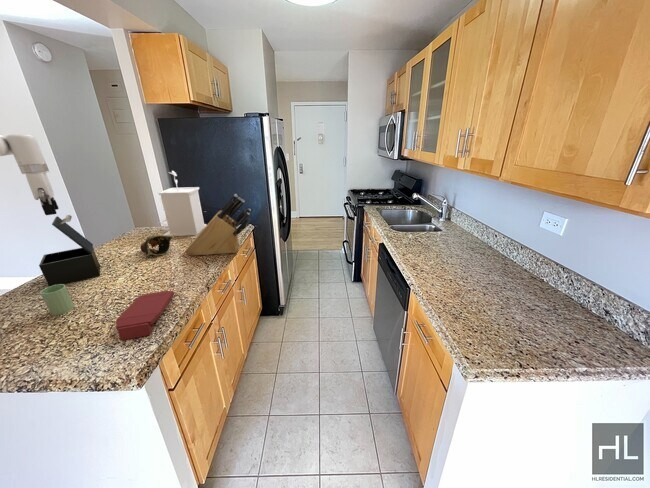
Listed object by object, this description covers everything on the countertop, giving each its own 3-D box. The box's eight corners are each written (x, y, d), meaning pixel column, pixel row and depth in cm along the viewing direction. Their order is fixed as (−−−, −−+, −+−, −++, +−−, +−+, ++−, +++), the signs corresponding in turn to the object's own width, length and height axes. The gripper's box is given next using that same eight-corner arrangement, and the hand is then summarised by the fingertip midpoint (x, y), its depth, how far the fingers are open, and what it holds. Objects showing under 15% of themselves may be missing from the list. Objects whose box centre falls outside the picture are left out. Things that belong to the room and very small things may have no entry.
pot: (153, 230, 150) (167, 225, 140) (166, 245, 155) (182, 241, 145) (126, 249, 138) (140, 245, 128) (142, 264, 144) (156, 262, 134)
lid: (51, 224, 104) (64, 216, 106) (55, 217, 114) (67, 210, 115) (90, 254, 114) (101, 247, 116) (91, 245, 124) (101, 238, 126)
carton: (142, 306, 103) (112, 341, 80) (139, 294, 102) (108, 327, 78) (176, 300, 106) (157, 333, 83) (174, 289, 105) (154, 319, 82)
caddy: (49, 288, 109) (38, 265, 105) (53, 276, 119) (43, 254, 115) (100, 275, 119) (92, 254, 115) (99, 265, 129) (92, 245, 124)
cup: (46, 317, 91) (35, 295, 88) (56, 306, 97) (46, 286, 94) (69, 312, 94) (59, 291, 90) (77, 303, 99) (68, 282, 96)
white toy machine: (159, 236, 166) (142, 172, 151) (177, 223, 191) (164, 167, 176) (198, 235, 168) (185, 171, 153) (210, 222, 193) (200, 167, 178)
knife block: (253, 252, 142) (247, 196, 131) (185, 257, 137) (172, 199, 126) (255, 244, 153) (249, 192, 141) (192, 248, 148) (180, 194, 136)
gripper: (24, 168, 104) (42, 209, 110) (15, 171, 92) (36, 218, 98) (50, 166, 108) (66, 206, 115) (45, 170, 96) (63, 214, 103)
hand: (52, 212), depth 106 cm, fingers open, 9 cm apart
